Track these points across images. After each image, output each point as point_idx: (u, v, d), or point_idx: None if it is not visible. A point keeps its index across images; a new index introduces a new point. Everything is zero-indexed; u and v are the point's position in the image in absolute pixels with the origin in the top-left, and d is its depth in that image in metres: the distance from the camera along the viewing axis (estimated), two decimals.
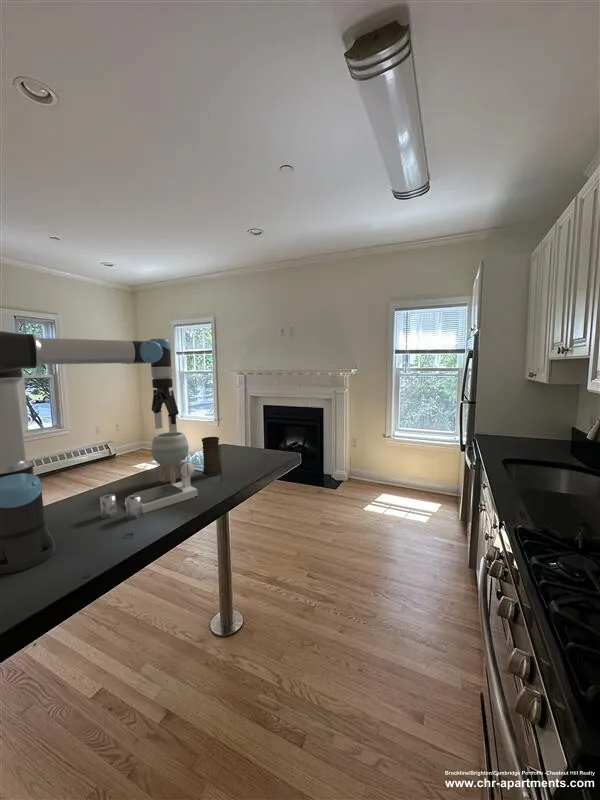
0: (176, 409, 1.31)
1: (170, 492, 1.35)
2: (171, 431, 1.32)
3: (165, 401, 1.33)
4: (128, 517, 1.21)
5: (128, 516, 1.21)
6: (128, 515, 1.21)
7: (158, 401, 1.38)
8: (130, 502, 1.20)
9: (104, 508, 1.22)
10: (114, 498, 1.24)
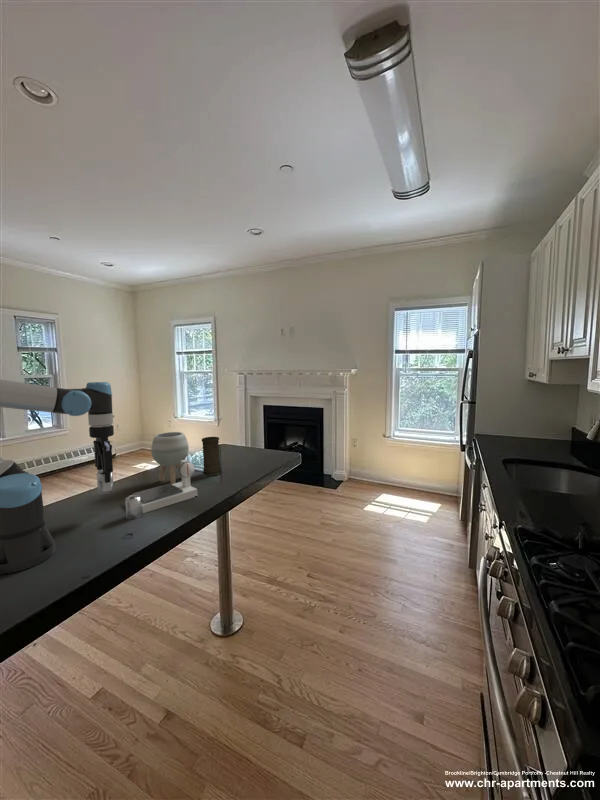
0: (111, 467, 1.18)
1: (170, 492, 1.35)
2: (105, 490, 1.20)
3: (101, 455, 1.19)
4: (128, 517, 1.21)
5: (128, 516, 1.21)
6: (128, 515, 1.21)
7: (99, 452, 1.22)
8: (130, 502, 1.20)
9: (100, 484, 1.20)
10: (111, 474, 1.23)
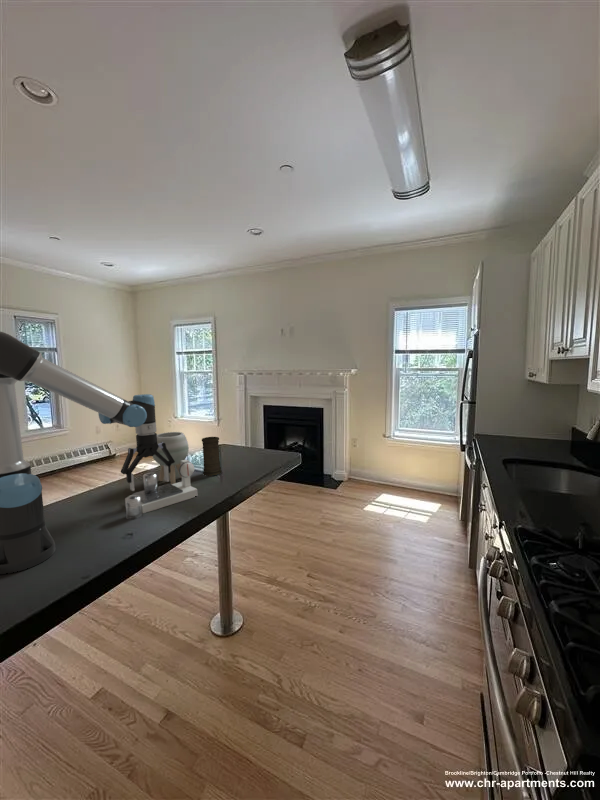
0: (123, 469, 1.28)
1: (170, 492, 1.35)
2: (130, 488, 1.32)
3: None
4: (128, 517, 1.21)
5: (128, 516, 1.21)
6: (128, 515, 1.21)
7: None
8: (130, 502, 1.20)
9: None
10: (147, 478, 1.33)
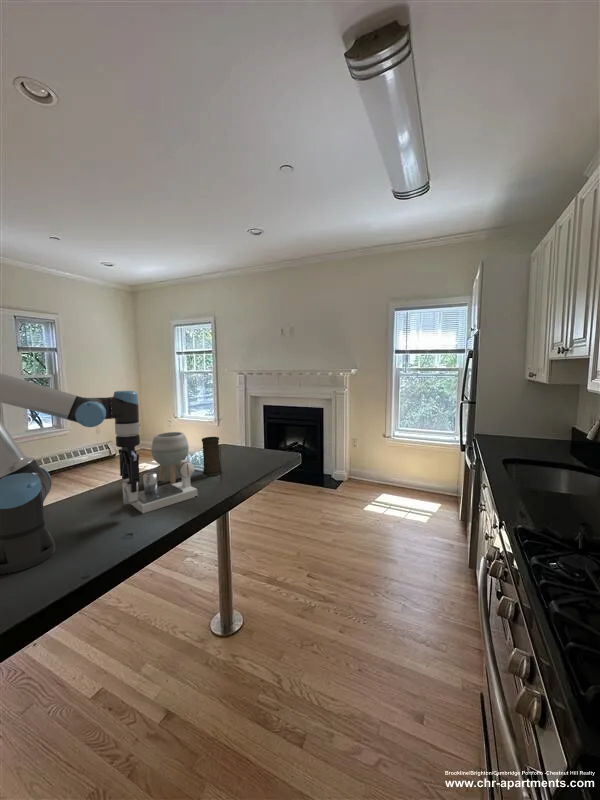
0: (137, 477, 1.17)
1: (170, 492, 1.35)
2: (131, 500, 1.19)
3: (128, 464, 1.18)
4: (125, 502, 1.20)
5: (125, 501, 1.20)
6: (125, 500, 1.20)
7: (124, 461, 1.21)
8: None
9: None
10: (147, 478, 1.33)
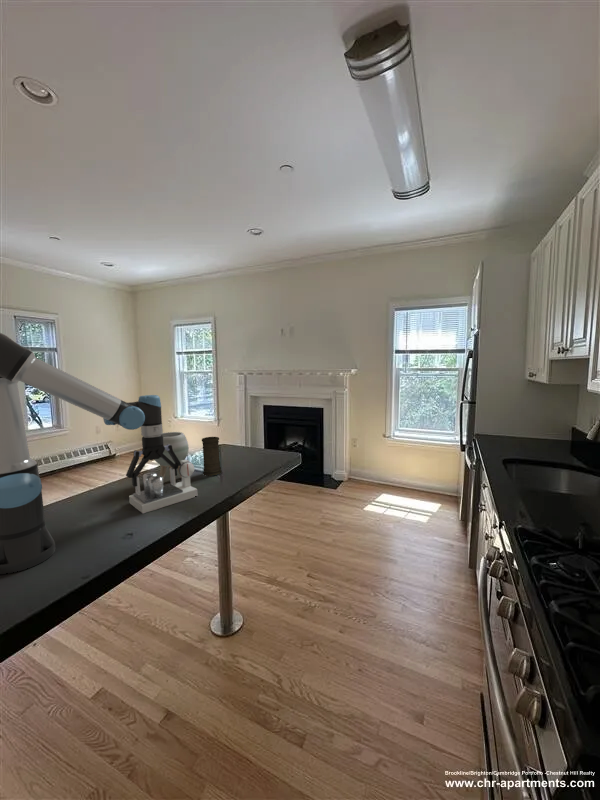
0: (129, 472, 1.24)
1: (170, 492, 1.35)
2: (136, 492, 1.28)
3: (141, 460, 1.29)
4: None
5: None
6: None
7: (161, 457, 1.34)
8: None
9: None
10: (147, 478, 1.33)
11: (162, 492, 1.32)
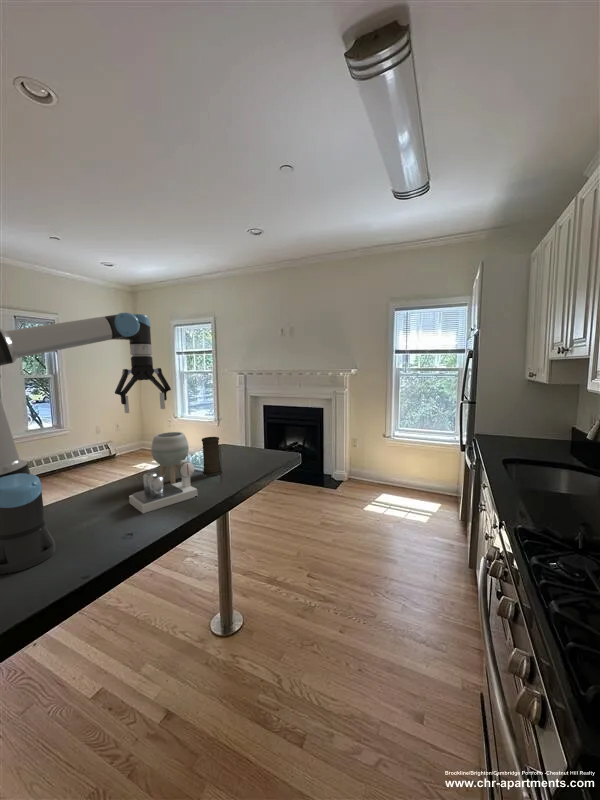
0: (117, 389, 1.24)
1: (170, 492, 1.35)
2: (125, 411, 1.28)
3: (130, 380, 1.29)
4: None
5: None
6: None
7: (150, 380, 1.34)
8: None
9: None
10: (147, 478, 1.33)
11: (162, 492, 1.32)
